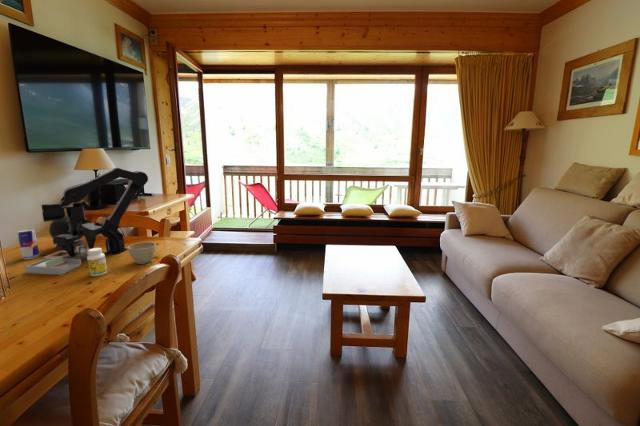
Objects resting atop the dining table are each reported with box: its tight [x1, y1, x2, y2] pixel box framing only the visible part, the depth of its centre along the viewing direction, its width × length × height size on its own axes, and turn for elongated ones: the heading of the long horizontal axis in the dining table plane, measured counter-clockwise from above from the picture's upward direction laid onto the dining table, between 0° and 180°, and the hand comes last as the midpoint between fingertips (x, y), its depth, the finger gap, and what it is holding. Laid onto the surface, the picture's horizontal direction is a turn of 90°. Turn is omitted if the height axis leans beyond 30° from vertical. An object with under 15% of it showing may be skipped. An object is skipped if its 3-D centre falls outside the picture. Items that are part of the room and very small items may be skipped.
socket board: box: [42, 250, 78, 260], centre depth 128 cm, size 8×8×2 cm
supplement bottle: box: [86, 247, 108, 277], centre depth 114 cm, size 5×5×10 cm
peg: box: [75, 243, 89, 260], centre depth 130 cm, size 4×4×6 cm
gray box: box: [24, 258, 82, 276], centre depth 119 cm, size 14×9×3 cm, turn 85°
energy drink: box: [16, 228, 40, 260], centre depth 129 cm, size 5×5×12 cm
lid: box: [35, 256, 65, 267], centre depth 119 cm, size 7×7×3 cm
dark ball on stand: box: [48, 214, 87, 251], centre depth 143 cm, size 13×13×15 cm
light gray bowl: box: [127, 241, 157, 265], centre depth 126 cm, size 10×10×7 cm
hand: (82, 253), depth 130 cm, fingers open, 9 cm apart
